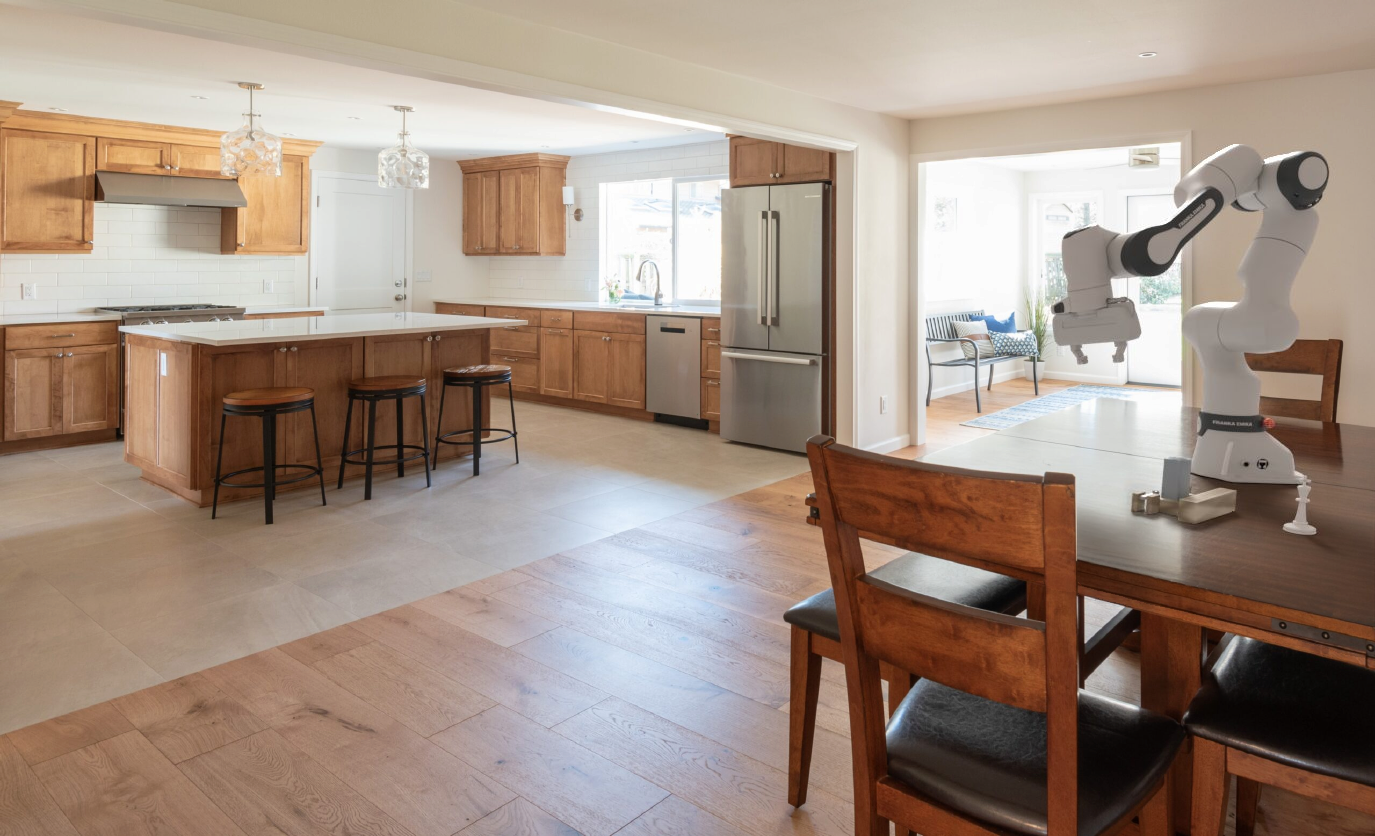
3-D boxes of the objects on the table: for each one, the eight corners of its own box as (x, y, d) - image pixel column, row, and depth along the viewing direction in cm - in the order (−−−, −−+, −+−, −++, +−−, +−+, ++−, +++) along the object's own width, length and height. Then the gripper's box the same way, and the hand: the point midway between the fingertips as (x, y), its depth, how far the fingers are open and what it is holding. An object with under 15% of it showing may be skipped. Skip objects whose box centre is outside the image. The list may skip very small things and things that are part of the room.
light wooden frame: (1130, 510, 170) (1131, 490, 169) (1171, 498, 179) (1173, 479, 179) (1194, 524, 161) (1196, 502, 160) (1234, 510, 170) (1236, 490, 169)
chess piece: (1282, 525, 160) (1288, 471, 158) (1316, 529, 157) (1322, 475, 155) (1282, 532, 156) (1288, 476, 154) (1316, 536, 153) (1322, 480, 151)
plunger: (1139, 500, 169) (1139, 494, 169) (1153, 496, 172) (1154, 490, 172) (1145, 501, 168) (1145, 495, 168) (1160, 497, 171) (1160, 491, 171)
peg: (1159, 508, 171) (1164, 458, 170) (1170, 505, 174) (1174, 455, 172) (1181, 513, 168) (1185, 461, 167) (1191, 509, 170) (1195, 459, 169)
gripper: (1142, 292, 183) (1152, 358, 185) (1064, 303, 202) (1073, 362, 203) (1121, 298, 181) (1131, 364, 182) (1044, 308, 199) (1054, 367, 201)
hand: (1100, 363), depth 193 cm, fingers open, 8 cm apart
